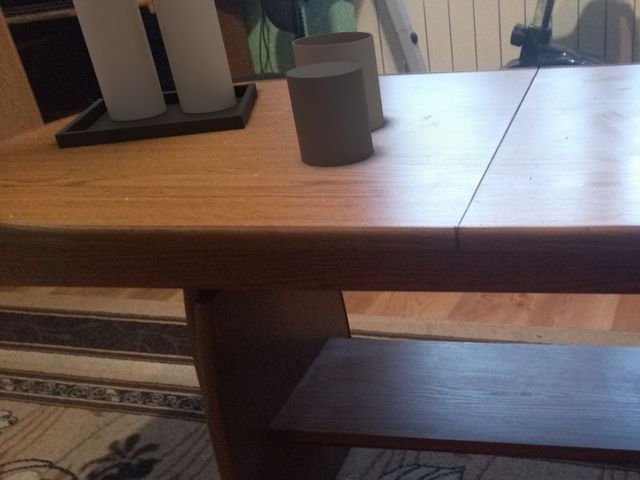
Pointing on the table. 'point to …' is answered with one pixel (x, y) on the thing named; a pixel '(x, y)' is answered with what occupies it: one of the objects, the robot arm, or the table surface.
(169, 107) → the tray
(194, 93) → the ivory candle right
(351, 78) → the grey candle
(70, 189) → the table surface
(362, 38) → the cup
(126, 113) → the ivory candle left
